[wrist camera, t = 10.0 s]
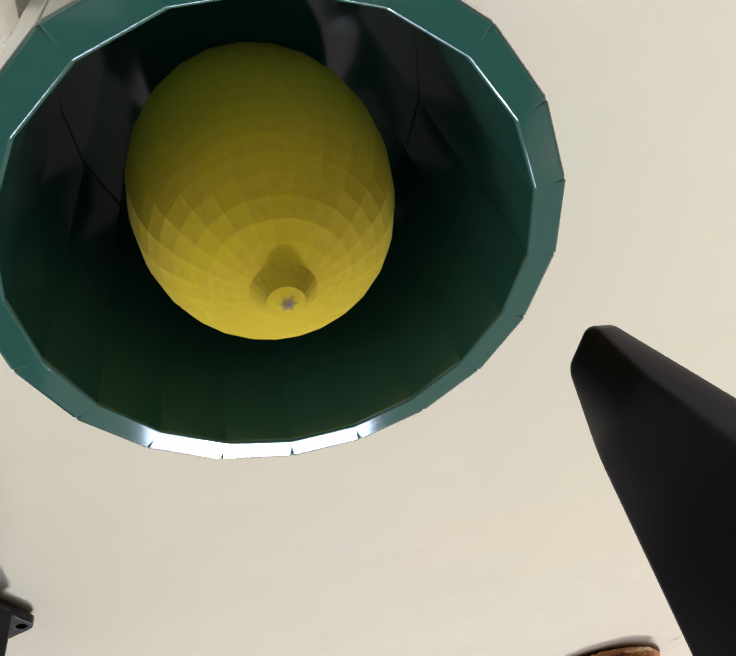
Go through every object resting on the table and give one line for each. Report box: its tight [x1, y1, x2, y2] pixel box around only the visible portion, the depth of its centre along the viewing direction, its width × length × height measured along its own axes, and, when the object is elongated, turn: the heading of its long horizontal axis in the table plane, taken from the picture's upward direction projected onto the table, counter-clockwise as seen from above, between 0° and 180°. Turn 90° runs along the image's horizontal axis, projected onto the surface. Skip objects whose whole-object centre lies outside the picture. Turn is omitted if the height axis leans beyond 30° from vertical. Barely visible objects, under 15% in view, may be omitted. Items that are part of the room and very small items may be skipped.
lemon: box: [125, 42, 395, 340], centre depth 14 cm, size 6×6×8 cm
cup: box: [0, 0, 565, 459], centre depth 14 cm, size 10×10×8 cm
